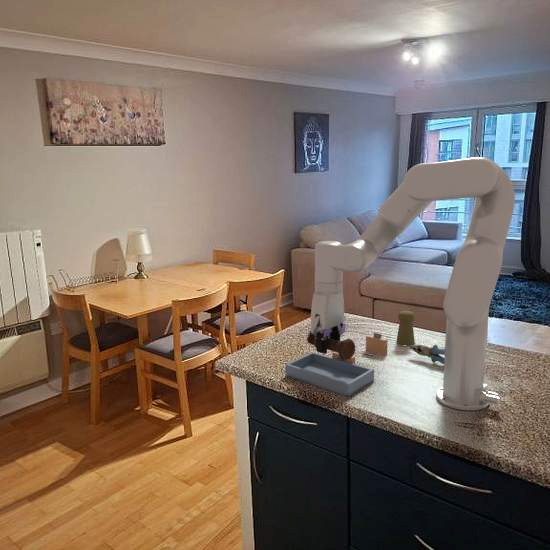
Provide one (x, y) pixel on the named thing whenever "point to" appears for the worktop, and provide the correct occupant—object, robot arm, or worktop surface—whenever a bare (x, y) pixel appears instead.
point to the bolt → (336, 346)
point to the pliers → (429, 352)
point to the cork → (406, 328)
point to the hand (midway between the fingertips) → (328, 348)
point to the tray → (330, 373)
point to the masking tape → (331, 331)
